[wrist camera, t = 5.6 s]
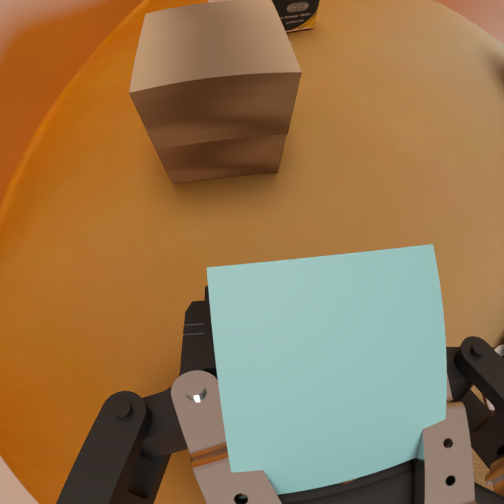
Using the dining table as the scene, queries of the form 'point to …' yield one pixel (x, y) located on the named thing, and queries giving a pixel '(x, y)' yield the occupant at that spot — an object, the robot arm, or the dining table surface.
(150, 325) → the dining table surface
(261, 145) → the tower base slab
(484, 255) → the dining table surface
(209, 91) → the tower upper slab
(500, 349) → the pacifier
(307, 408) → the pillar
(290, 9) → the medicine bottle
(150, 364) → the dining table surface
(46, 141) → the dining table surface
